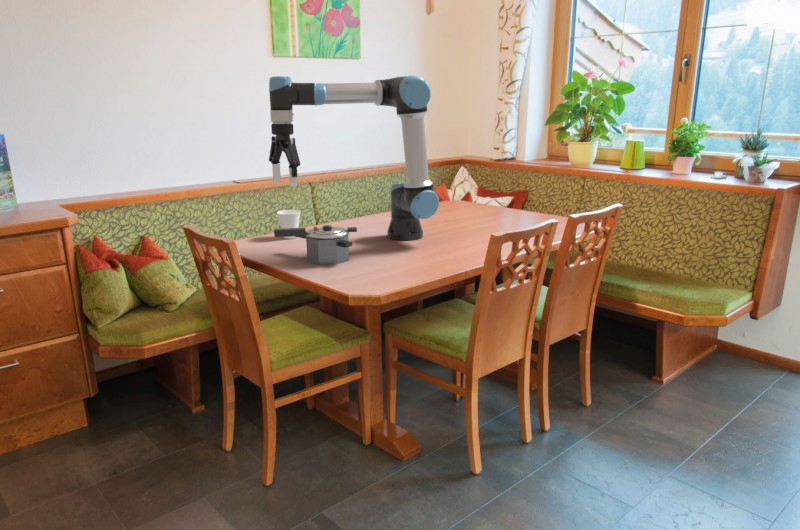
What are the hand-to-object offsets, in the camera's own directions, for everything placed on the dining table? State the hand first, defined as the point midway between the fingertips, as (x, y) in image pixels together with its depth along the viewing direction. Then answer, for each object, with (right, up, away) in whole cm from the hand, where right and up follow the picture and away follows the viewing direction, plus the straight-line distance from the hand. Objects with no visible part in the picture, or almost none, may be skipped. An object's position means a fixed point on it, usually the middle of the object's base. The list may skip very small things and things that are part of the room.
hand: (285, 184), depth 216 cm
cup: (-6, -17, +41) cm, 45 cm away
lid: (+11, -18, +3) cm, 21 cm away
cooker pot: (+12, -26, +9) cm, 30 cm away
